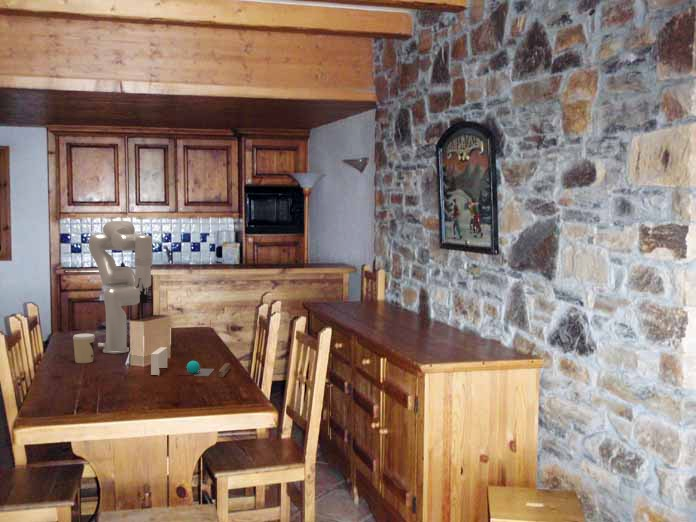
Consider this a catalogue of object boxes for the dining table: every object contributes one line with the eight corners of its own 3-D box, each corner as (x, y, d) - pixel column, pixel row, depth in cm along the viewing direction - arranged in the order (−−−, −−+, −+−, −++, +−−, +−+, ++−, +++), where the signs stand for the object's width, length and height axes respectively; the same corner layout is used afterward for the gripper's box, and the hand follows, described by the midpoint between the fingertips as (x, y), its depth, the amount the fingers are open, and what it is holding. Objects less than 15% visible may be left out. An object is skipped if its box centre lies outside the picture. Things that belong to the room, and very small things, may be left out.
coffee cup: (95, 362, 329) (95, 336, 328) (73, 364, 326) (73, 337, 325) (94, 358, 338) (94, 332, 337) (73, 359, 334) (72, 333, 334)
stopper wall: (218, 377, 306) (218, 371, 306) (225, 368, 322) (225, 363, 322) (223, 377, 306) (223, 371, 306) (229, 368, 322) (229, 363, 322)
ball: (191, 377, 309) (182, 368, 309) (194, 375, 314) (185, 366, 314) (200, 368, 309) (191, 359, 309) (203, 366, 314) (194, 357, 314)
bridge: (151, 375, 307) (151, 353, 306) (160, 367, 322) (160, 347, 321) (158, 375, 307) (158, 354, 306) (167, 367, 321) (167, 347, 321)
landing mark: (177, 375, 308) (177, 375, 308) (184, 368, 321) (184, 368, 321) (208, 376, 307) (208, 375, 307) (214, 369, 320) (214, 368, 320)
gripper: (140, 261, 336) (140, 300, 338) (130, 263, 321) (130, 305, 323) (156, 261, 336) (156, 301, 338) (146, 264, 321) (147, 305, 323)
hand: (143, 303), depth 330 cm, fingers closed
